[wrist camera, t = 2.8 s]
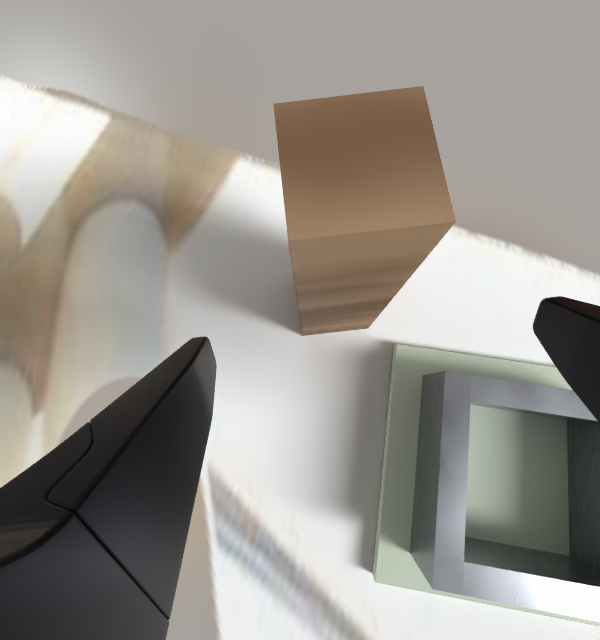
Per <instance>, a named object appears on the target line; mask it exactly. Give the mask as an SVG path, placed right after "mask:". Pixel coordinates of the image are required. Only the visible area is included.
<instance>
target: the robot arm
mask: <svg viewBox="0 0 600 640" xmlns="http://www.w3.org/2000/svg"><path fill="white" fill-rule="evenodd" d="M533 330H534V333H535V335H536V336H537V338H538V339H539V341H540V343H541V344H542V346H543V347H544V349H545V350H546V352H547V353H548V355H549V357H550V358H551V360H552V361H553V363H554V364H555V366H556V368H557V369H558V371H559V372H560V374H561V375H562V377H563V378H564V379H565V381H566V382H567V383H568V385H569V386H570V387H571V388H572V390H573V391H574V392H575V393H576V395H577V396H578V397H579V398H580V400H581V401H582V402H583V403H584V405H585V406H586V407H587V408H588V410H589V411H590V412H591V414H592V415H593V416H594V417H595V419H596V420H597V421H598V422H599V424H600V306H597V305H593V304H589V303H585V302H581V301H578V300H574V299H570V298H566V297H560V296H558V297H550V298H545V299H543V300H542V301H541V302H540V305H539V308H538V311H537V314H536V317H535V320H534V323H533ZM215 380H216V360H215V356H214V353H213V350H212V347H211V343H210V340H209V339H208V338H207V337H196V338H192V339H190V340H189V341H188V342H187V343H185V344H184V345H183V346H182V347H180V348H179V349H178V350H177V351H175V352H174V353H173V354H172V355H170V356H169V357H168V358H167V359H166V360H164V361H163V362H162V363H161V364H159V365H158V366H157V367H156V368H154V369H153V370H152V371H151V372H149V373H148V374H147V375H146V376H145V377H143V378H142V379H141V380H140V381H138V382H137V383H136V384H135V385H133V386H132V387H131V388H130V389H129V390H127V391H126V392H125V393H123V394H122V395H121V396H120V397H118V398H117V399H116V400H115V401H114V402H112V403H111V404H110V405H109V406H108V407H106V408H105V409H104V410H102V411H101V412H100V413H99V414H98V415H96V416H95V417H94V418H92V419H91V421H90V423H89V422H88V423H86V424H85V425H84V426H82V427H81V428H80V429H79V430H78V431H76V432H75V433H74V434H73V435H71V436H70V437H69V438H68V439H66V440H65V441H64V442H62V443H61V444H60V445H59V446H57V447H56V448H55V449H53V450H52V451H51V452H50V453H48V454H47V455H45V456H44V457H43V458H41V459H40V460H39V461H37V462H36V463H35V464H33V465H32V466H30V467H29V468H28V469H26V470H25V471H24V472H22V473H21V474H19V475H18V476H17V477H15V478H14V479H12V480H11V481H10V482H8V483H7V484H5V485H4V486H3V487H1V488H0V640H166V635H167V631H168V626H169V621H168V620H169V618H170V615H171V610H172V606H173V601H174V596H175V591H176V587H177V582H178V578H179V573H180V568H181V563H182V559H183V554H184V549H185V544H186V540H187V535H188V530H189V526H190V520H191V516H192V511H193V507H194V502H195V497H196V492H197V487H198V483H199V478H200V473H201V469H202V464H203V459H204V455H205V450H206V445H207V440H208V436H209V431H210V426H211V421H212V414H213V404H214V392H215Z"/></svg>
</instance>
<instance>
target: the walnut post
mask: <svg viewBox="0 0 600 640" xmlns="http://www.w3.org/2000/svg"><path fill="white" fill-rule="evenodd" d="M274 113H275V122H276V130H277V140H278V150H279V158H280V168H281V177H282V187H283V196H284V205H285V214H286V224H287V233H288V242H289V248H290V255H291V262H292V269H293V275H294V282H295V289H296V295H297V302H298V309H299V316H300V322H301V329H302V336H303V335H312V334H321V333H330V332H339V331H348V330H357V329H366V328H369V326H370V325H371V324H372V323H373V322H374V320H375V319H376V318H377V317H378V316H379V314H380V313H381V312H382V311H383V309H384V308H385V307H386V306H387V305H388V303H389V302H390V301H391V300H392V299H393V297H394V296H395V295H396V294H397V292H398V291H399V290H400V289H401V288H402V286H403V285H404V284H405V283H406V281H407V280H408V279H409V278H410V277H411V275H412V274H413V273H414V272H415V271H416V269H417V268H418V267H419V266H420V264H421V263H422V262H423V261H424V260H425V258H426V257H427V256H428V255H429V253H430V252H431V251H432V250H433V249H434V247H435V246H436V245H437V244H438V243H439V241H440V240H441V239H442V238H443V236H444V235H445V234H446V233H447V232H448V230H449V229H450V228H451V227H452V225H453V224H454V223H455V217H454V213H453V209H452V205H451V201H450V196H449V192H448V188H447V184H446V180H445V175H444V171H443V167H442V163H441V159H440V154H439V151H438V146H437V142H436V138H435V134H434V130H433V125H432V121H431V117H430V113H429V108H428V104H427V100H426V96H425V92H424V88H423V86H421V87H413V88H404V89H396V90H387V91H379V92H370V93H362V94H353V95H345V96H337V97H328V98H320V99H311V100H303V101H294V102H286V103H278V104H274Z"/></svg>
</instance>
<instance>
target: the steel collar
mask: <svg viewBox="0 0 600 640" xmlns="http://www.w3.org/2000/svg"><path fill="white" fill-rule="evenodd" d="M470 405H475V406H482V407H488V408H495V409H501V410H507V411H514V412H520V413H527V414H533V415H539V416H546V417H552V418H559V419H565V420H567V461H568V506H569V552H570V556H569V555H563V554H558V553H553V552H547V551H542V550H536V549H531V548H525V547H520V546H514V545H509V544H503V543H498V542H492V541H487V540H482V539H476V538H471V537H465V525H466V500H467V476H468V451H469V426H470ZM410 554H411V556H412V558H413V559H414V561H415V562H416V564H417V566H418V567H419V569H420V570H421V572H422V573H423V575H424V577H425V578H426V580H427V581H428V583H429V585H430V586H431V588H432V589H433V590H438V591H443V592H448V593H453V594H459V595H464V596H469V597H474V598H479V599H484V600H489V601H494V602H500V603H505V604H510V605H515V606H520V607H525V608H530V609H536V610H541V611H546V612H551V613H556V614H561V615H566V616H571V617H577V618H582V619H587V620H592V621H597V622H600V424H599V422H598V421H597V420H596V419H595V417H594V416H593V415H592V414H591V412H590V411H589V410H588V408H587V407H586V406H585V405H584V403H583V402H582V401H581V400H580V398H579V397H578V396H577V395H576V393H575V392H574V391H573V390H569V389H562V388H556V387H549V386H542V385H536V384H529V383H523V382H516V381H509V380H503V379H496V378H489V377H483V376H476V375H469V374H463V373H456V372H449V371H442V372H437V373H432V374H426V375H423V377H422V391H421V405H420V419H419V432H418V446H417V460H416V474H415V487H414V501H413V515H412V528H411V542H410Z"/></svg>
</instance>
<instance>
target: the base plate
mask: <svg viewBox="0 0 600 640" xmlns="http://www.w3.org/2000/svg"><path fill="white" fill-rule="evenodd" d="M442 371H449V372H456V373H463V374H469V375H476V376H483V377H489V378H496V379H503V380H509V381H516V382H523V383H529V384H536V385H542V386H549V387H556V388H562V389H569V390H572V388H571V387H570V386H569V385H568V383H567V382H566V381H565V379H564V378H563V377H562V375H561V374H560V372H559V371H558V369H557V368H556V367H551V366H544V365H537V364H530V363H524V362H517V361H510V360H503V359H496V358H489V357H483V356H476V355H469V354H462V353H455V352H448V351H442V350H435V349H428V348H421V347H414V346H407V345H401V344H396V345H395V346H394V350H393V360H392V371H391V382H390V392H389V403H388V414H387V424H386V435H385V446H384V457H383V467H382V478H381V489H380V499H379V510H378V521H377V531H376V542H375V553H374V563H373V577H374V580H375V582H377V583H382V584H387V585H392V586H397V587H402V588H407V589H413V590H418V591H423V592H428V593H433V594H438V595H443V596H448V597H453V598H459V599H464V600H469V601H474V602H479V603H484V604H489V605H494V606H499V607H505V608H510V609H515V610H520V611H525V612H530V613H535V614H540V615H545V616H550V617H556V618H561V619H566V620H571V621H576V622H581V623H586V624H591V625H596V626H600V622H597V621H592V620H587V619H582V618H577V617H571V616H566V615H561V614H556V613H551V612H546V611H541V610H536V609H530V608H525V607H520V606H515V605H510V604H505V603H500V602H494V601H489V600H484V599H479V598H474V597H469V596H464V595H459V594H453V593H448V592H443V591H438V590H433V589H432V588H431V586H430V585H429V583H428V581H427V580H426V578H425V577H424V575H423V573H422V572H421V570H420V569H419V567H418V566H417V564H416V562H415V561H414V559H413V558H412V556H411V554H410V542H411V528H412V515H413V501H414V487H415V474H416V460H417V446H418V432H419V419H420V405H421V391H422V377H423V375H426V374H432V373H437V372H442ZM465 537H471V538H476V539H482V540H487V541H492V542H498V543H503V544H509V545H514V546H520V547H525V548H531V549H536V550H542V551H547V552H553V553H558V554H563V555H569V556H570V552H569V506H568V461H567V420H565V419H559V418H552V417H546V416H539V415H533V414H527V413H520V412H514V411H507V410H501V409H495V408H488V407H482V406H475V405H470V426H469V451H468V476H467V500H466V525H465Z"/></svg>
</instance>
